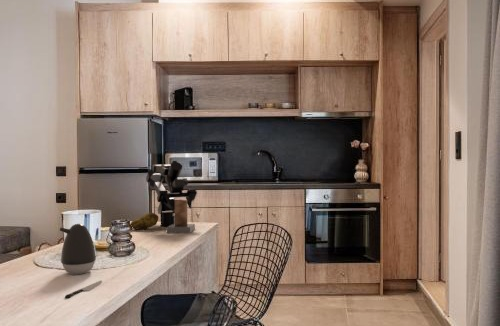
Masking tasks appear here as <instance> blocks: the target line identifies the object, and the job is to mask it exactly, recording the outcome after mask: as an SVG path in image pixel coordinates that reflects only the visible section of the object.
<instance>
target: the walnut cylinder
mask: <svg viewBox="0 0 500 326" xmlns="http://www.w3.org/2000/svg"><path fill="white" fill-rule="evenodd" d="M174 216H175V226H187V224H188V204H187V199H175V213H174Z"/></svg>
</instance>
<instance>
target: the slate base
mask: <svg viewBox="0 0 500 326" xmlns="http://www.w3.org/2000/svg"><path fill="white" fill-rule="evenodd" d="M195 227H196V225H195V223H187V226H175V224H172V225H170V226H166V233H169V234H174V233H175V234H177V233H178V234H179V233H180V234H182V233H183V234H187V233H188V234H191V233H192V232H193V231H195V230H196V229H195Z"/></svg>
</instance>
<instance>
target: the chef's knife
mask: <svg viewBox="0 0 500 326" xmlns="http://www.w3.org/2000/svg"><path fill="white" fill-rule="evenodd" d="M102 283H103V281H102V280H98V281H96V282H94V283H91V284H88V285H86V286H85V287H82V288H79V289H78V290H77V289H76V290H75V291H73V292H71V293H68V294H66V295H64V298H65V299H70V298H71V297H73V296H75V295H77V294H80V293H82V292H83V293H84V292H91V291H93V290H94V289H95V288H97V287H99V286H100V285H101V284H102Z"/></svg>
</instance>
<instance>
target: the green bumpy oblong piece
mask: <svg viewBox="0 0 500 326" xmlns="http://www.w3.org/2000/svg"><path fill="white" fill-rule="evenodd" d="M158 221H159V216H158V214H156V213H154V212H149V213H148V212H147V213H146V214H143V215H142V216H140V217H139V218H136V219H134V220H132V221H131V223H130V226H131V225H132V227H133V228H132V230H148V229H149V228H150V227H153V226H156V225H157V224H158Z"/></svg>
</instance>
